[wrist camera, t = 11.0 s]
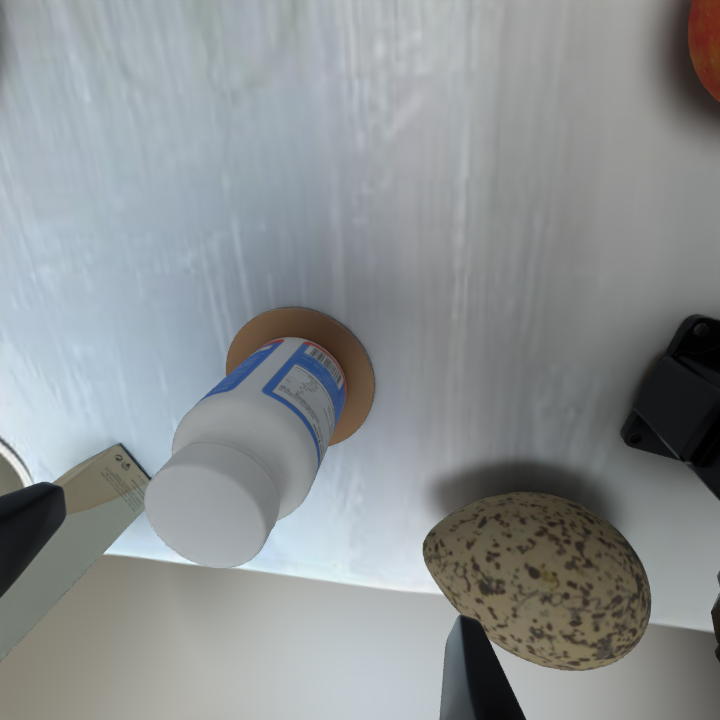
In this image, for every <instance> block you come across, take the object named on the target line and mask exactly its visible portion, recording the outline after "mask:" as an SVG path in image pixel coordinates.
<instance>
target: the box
mask: <svg viewBox="0 0 720 720" xmlns="http://www.w3.org/2000/svg"><path fill="white" fill-rule="evenodd" d="M149 482H150V480H149V479H148V478H147V477H146V476H145V474H144V473H143V472H142V471H141V470H140V468H139V467H138V466H137V465H136V464H135V463H134V461H133V460H132V459H131V458H130V457H129V456H128V454H127V453H126V452H125V451H124V450H123V449H122V448H121V446H120V445H114V446H112V447H110V448H108V449H107V450H105V451H103V452H101V453H99V454H97V455H95V456H93V457H91V458H90V459H88V460H86V461H84V462H82V463H81V464H79V465H77V466H75V467H74V468H72V469H71V470H69V471H68V472H66V473H65V474H64V475H62V476H61V477H60V478H58V479H57V480H56V481H54V482H53V484H56V485H59V486H61V487H62V488H63V489H64V492H65V501H66V509H67V515H66V518H65V520H64V522H63V524H62V525H61V526H60V528H59V529H58V530H57V531H56V533H55V534H54V535H53V536H52V537H51V539H50V540H49V541H48V542H47V544H46V545H45V546H44V547H43V549H42V550H41V551H40V552H39V553H38V555H37V556H36V557H35V558H34V560H33V561H32V562H31V563H30V564H29V566H28V567H27V568H26V569H25V571H24V572H23V573H22V574H21V575H20V577H19V578H18V579H17V580H16V581H15V583H14V584H13V585H12V586H11V587H10V588H9V589H8V591H7V592H6V593H5V594H4V595H3V596H2V597H1V598H0V662H1V661H2V660H3V659H4V658H5V657H6V656H7V655H8V654H9V653H10V652H11V651H12V650H13V648H14V647H15V646H16V645H17V644H18V643H19V642H20V641H21V640H22V639H23V638H24V637H25V636H26V635H27V634H28V633H29V631H31V629H32V628H33V627H34V626H35V625H36V624H37V623H38V622H39V621H40V620H41V619H42V618H43V617H44V616H45V615H46V614H47V613H48V612H49V610H51V608H52V607H53V606H54V605H55V604H56V603H57V602H58V601H59V600H60V599H61V598H62V597H63V595H65V594H66V592H67V591H68V590H69V589H70V588H71V587H72V586H73V585H74V584H75V583H76V582H77V581H78V579H80V577H81V576H82V575H83V574H84V573H85V572H86V571H87V570H88V569H89V568H90V567H91V566H92V565H93V564H94V563H95V562H96V561H97V559H98V558H99V557H100V556H101V555H102V554H103V553H104V552H105V551H106V550H107V549H108V548H109V547H110V546H111V545H112V543H113V542H114V541H115V540H116V539H117V538H118V537H119V536H120V535H121V534H122V533H123V532H124V530H125V529H126V528H127V527H128V526H129V525H130V524H131V523H132V522H133V521H134V520H135V519H136V518H137V517H138V515H139V514H140V513H141V512H142V511H143V510H144V509H145V507H144V495H145V491H146V488H147V486H148V484H149Z"/></svg>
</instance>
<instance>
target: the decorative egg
mask: <svg viewBox="0 0 720 720" xmlns="http://www.w3.org/2000/svg"><path fill="white" fill-rule="evenodd" d="M423 556H424V561H425V564H426V566H427V568H428V570H429V572H430V574H431V575H432V577H433V579H434V580H435V582H436V583H437V585H438V586H439V588H440V589H441V591H442V592H443V593H444V595H445V596H446V597H447V599H448V600H449V601H450V602H451V604H452V605H453V606H454V607H455V608H456V610H457V611H458V612H459V613H460V614H461V615H465V616H468V617H471V618H475V619H477V620H478V621H479V622H480V623H481V624H482V626H483V628H484V631H485V633H486V635H487V637H488V639H490V640H491V641H492V642H494V643H495V644H497V645H498V646H500V647H501V648H503V649H504V650H506V651H508V652H510V653H512V654H514V655H516V656H518V657H520V658H522V659H524V660H527V661H529V662H532V663H535V664H538V665H541V666H544V667H549V668H555V669H560V670H568V671H584V670H591V669H596V668H600V667H604V666H607V665H610V664H612V663H614V662H616V661H618V660H619V659H621V658H623V657H624V656H625V655H627V654H628V653H629V652H630V651H631V650H632V649H633V648H634V647H635V646H636V645H637V643H638V642H639V641H640V639H641V638H642V636H643V634H644V632H645V630H646V628H647V625H648V621H649V618H650V612H651V593H650V586H649V582H648V578H647V575H646V572H645V569H644V567H643V565H642V563H641V561H640V559H639V557H638V555H637V554H636V552H635V551H634V549H633V548H632V546H631V545H630V544H629V542H628V541H627V540H626V539H625V538H624V536H623V535H622V534H621V533H620V532H619V531H618V530H617V529H616V528H615V527H614V526H613V525H611V524H610V523H609V522H608V521H606V520H605V519H604V518H602V517H601V516H599V515H598V514H596V513H595V512H593V511H592V510H590V509H588V508H586V507H584V506H582V505H580V504H578V503H576V502H573V501H571V500H568V499H565V498H562V497H559V496H555V495H551V494H545V493H537V492H512V493H504V494H499V495H494V496H490V497H487V498H484V499H481V500H478V501H476V502H473V503H471V504H469V505H466V506H464V507H462V508H460V509H459V510H457V511H455V512H453V513H452V514H450V515H448V516H447V517H446V518H444V519H443V520H441V521H440V522H439V523H438V524H437V525H436V526H435V527H433V528H432V529H431V531H430V532H429V533H428V535H427V536H426V538H425V540H424V543H423Z"/></svg>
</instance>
